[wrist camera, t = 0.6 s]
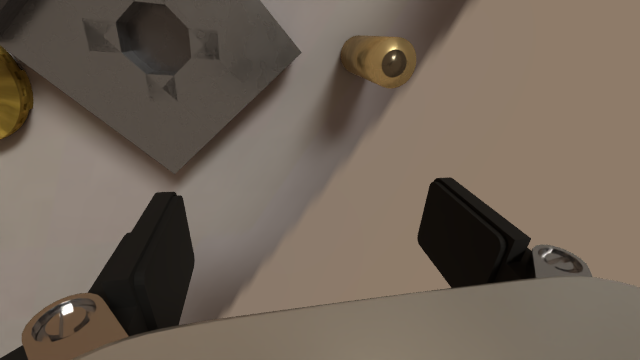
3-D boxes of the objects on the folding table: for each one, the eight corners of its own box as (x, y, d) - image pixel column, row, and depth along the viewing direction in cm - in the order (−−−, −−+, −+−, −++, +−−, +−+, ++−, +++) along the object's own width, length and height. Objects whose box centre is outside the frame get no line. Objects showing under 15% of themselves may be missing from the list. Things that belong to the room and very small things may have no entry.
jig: (146, -136, 24) (111, -189, 18) (295, 49, 32) (304, 54, 26) (15, 26, 26) (-50, 25, 21) (183, 157, 35) (169, 182, 29)
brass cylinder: (361, 27, 32) (401, 25, 23) (380, 56, 34) (424, 66, 25) (333, 53, 33) (362, 61, 24) (354, 80, 35) (388, 98, 26)
